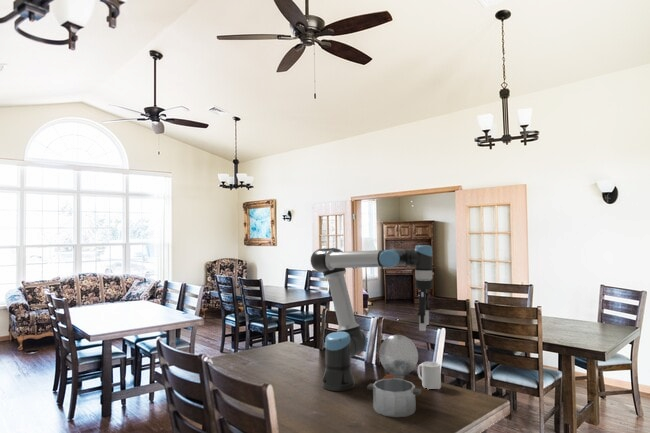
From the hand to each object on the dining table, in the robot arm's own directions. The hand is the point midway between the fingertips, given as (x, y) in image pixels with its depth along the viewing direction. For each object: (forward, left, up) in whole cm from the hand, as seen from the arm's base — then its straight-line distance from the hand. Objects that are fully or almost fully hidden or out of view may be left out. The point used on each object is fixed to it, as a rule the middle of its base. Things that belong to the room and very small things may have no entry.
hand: (424, 327), depth 184 cm
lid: (-9, -15, -9) cm, 20 cm away
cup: (0, +7, -28) cm, 28 cm away
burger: (-15, +2, -28) cm, 32 cm away
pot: (-9, -24, -27) cm, 38 cm away
